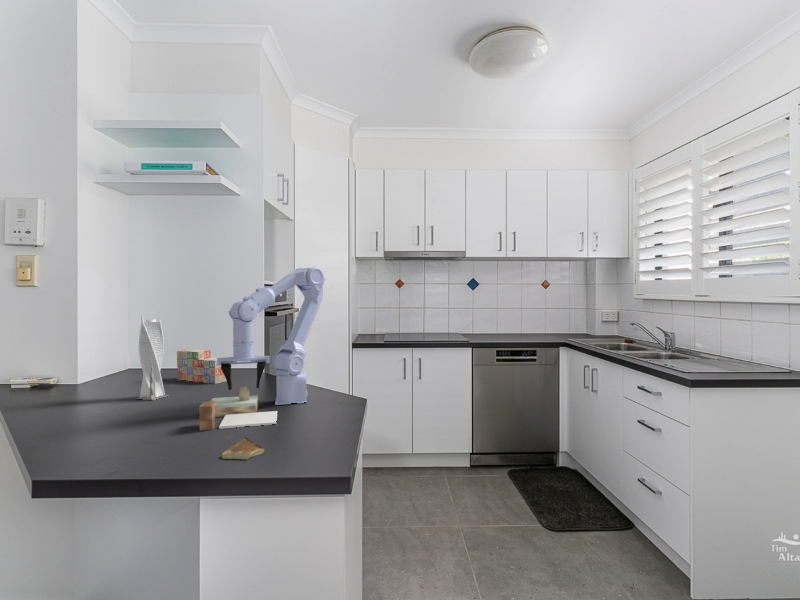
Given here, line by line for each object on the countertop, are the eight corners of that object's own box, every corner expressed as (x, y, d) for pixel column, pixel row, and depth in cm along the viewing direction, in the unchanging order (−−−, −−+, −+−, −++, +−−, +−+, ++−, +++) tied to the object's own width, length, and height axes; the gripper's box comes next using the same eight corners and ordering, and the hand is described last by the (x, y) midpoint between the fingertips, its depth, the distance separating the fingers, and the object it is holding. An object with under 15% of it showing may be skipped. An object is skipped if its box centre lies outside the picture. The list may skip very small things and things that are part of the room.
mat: (277, 413, 130) (277, 411, 130) (276, 424, 118) (276, 422, 118) (225, 416, 126) (225, 414, 126) (219, 428, 115) (219, 426, 115)
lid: (258, 397, 138) (258, 383, 138) (255, 405, 129) (255, 390, 129) (212, 400, 135) (212, 386, 135) (206, 408, 126) (206, 393, 126)
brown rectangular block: (216, 422, 120) (216, 400, 120) (212, 429, 114) (212, 406, 114) (204, 423, 120) (204, 400, 120) (199, 430, 113) (199, 406, 113)
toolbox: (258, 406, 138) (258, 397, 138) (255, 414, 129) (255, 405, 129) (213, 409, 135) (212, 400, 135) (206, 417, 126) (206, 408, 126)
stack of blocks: (227, 381, 181) (227, 350, 180) (214, 384, 175) (214, 352, 175) (190, 378, 190) (189, 348, 190) (177, 380, 184) (176, 350, 184)
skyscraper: (131, 399, 149) (130, 315, 149) (150, 394, 157) (149, 314, 157) (153, 400, 147) (151, 315, 147) (171, 395, 155) (169, 314, 155)
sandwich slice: (245, 443, 104) (245, 435, 104) (277, 444, 103) (277, 437, 103) (220, 460, 94) (220, 452, 94) (254, 462, 92) (254, 453, 92)
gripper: (269, 340, 138) (269, 384, 138) (218, 341, 134) (219, 387, 134) (269, 342, 132) (269, 388, 132) (215, 344, 128) (216, 392, 128)
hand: (244, 388), depth 133 cm, fingers open, 7 cm apart
